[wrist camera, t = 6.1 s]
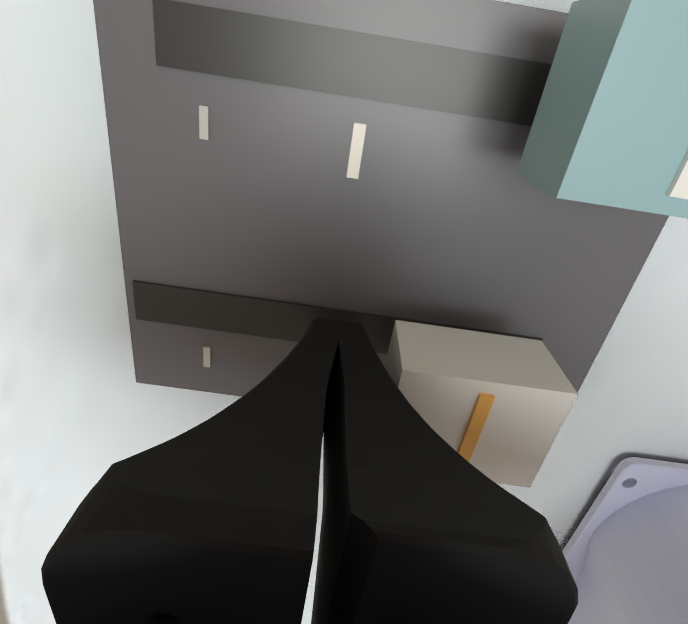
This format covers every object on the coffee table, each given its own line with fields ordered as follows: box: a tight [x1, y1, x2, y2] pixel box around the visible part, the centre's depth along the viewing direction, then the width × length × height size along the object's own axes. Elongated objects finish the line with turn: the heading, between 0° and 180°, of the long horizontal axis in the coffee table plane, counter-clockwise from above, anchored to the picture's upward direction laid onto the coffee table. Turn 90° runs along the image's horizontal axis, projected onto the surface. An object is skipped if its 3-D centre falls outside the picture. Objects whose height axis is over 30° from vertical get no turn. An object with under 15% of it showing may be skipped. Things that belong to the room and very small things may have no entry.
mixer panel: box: [93, 0, 669, 396], centre depth 12 cm, size 11×14×2 cm
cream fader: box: [385, 320, 578, 487], centre depth 11 cm, size 3×4×3 cm
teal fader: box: [517, 0, 688, 218], centre depth 8 cm, size 3×4×3 cm
